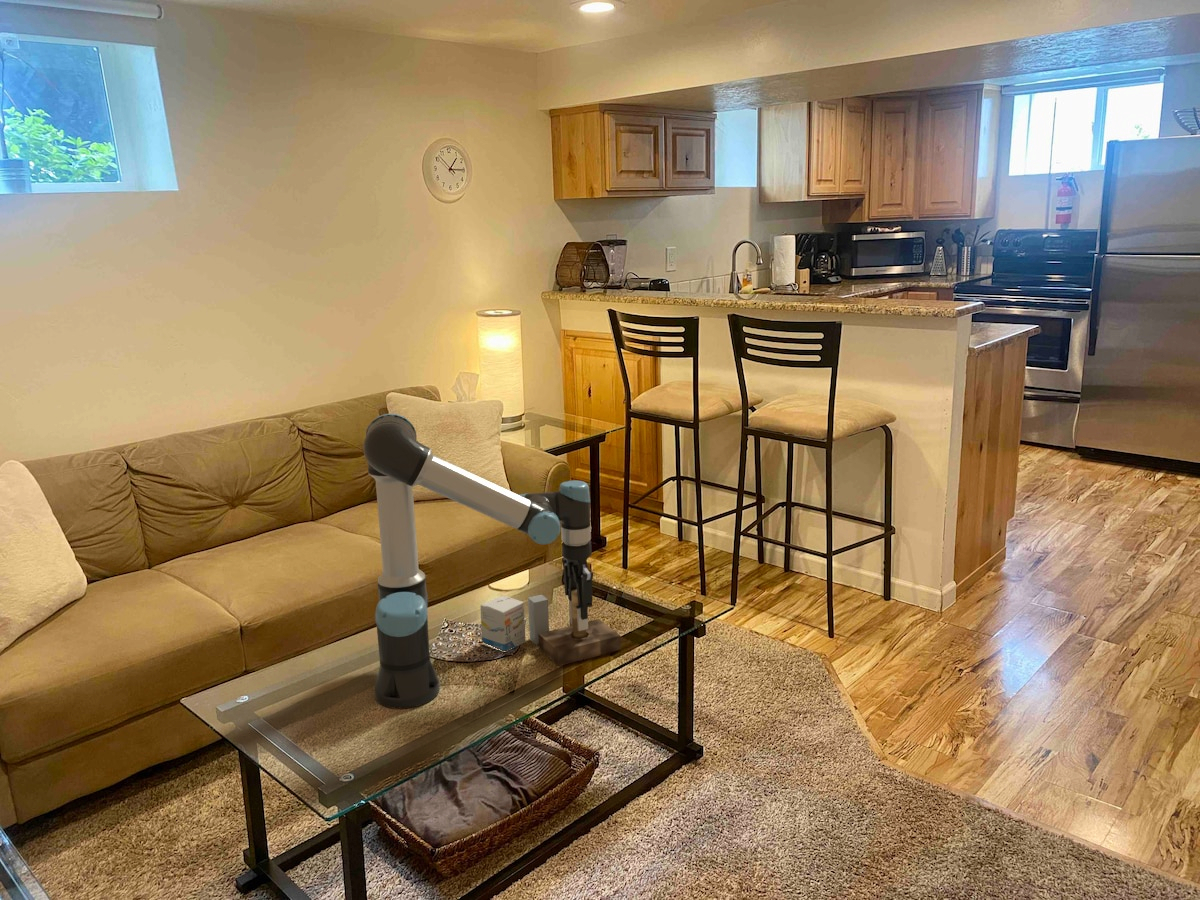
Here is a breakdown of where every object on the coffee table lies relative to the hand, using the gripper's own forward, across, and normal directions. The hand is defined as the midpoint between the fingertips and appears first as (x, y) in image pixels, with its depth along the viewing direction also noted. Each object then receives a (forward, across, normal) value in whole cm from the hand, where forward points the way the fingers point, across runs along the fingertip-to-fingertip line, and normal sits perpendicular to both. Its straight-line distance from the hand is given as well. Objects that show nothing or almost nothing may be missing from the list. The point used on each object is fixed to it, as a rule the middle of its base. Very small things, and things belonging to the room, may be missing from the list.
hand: (579, 626), depth 231 cm
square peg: (+6, +10, +7) cm, 14 cm away
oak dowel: (+4, 0, 0) cm, 4 cm away
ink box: (+6, +13, +16) cm, 22 cm away
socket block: (+6, 0, 0) cm, 6 cm away
